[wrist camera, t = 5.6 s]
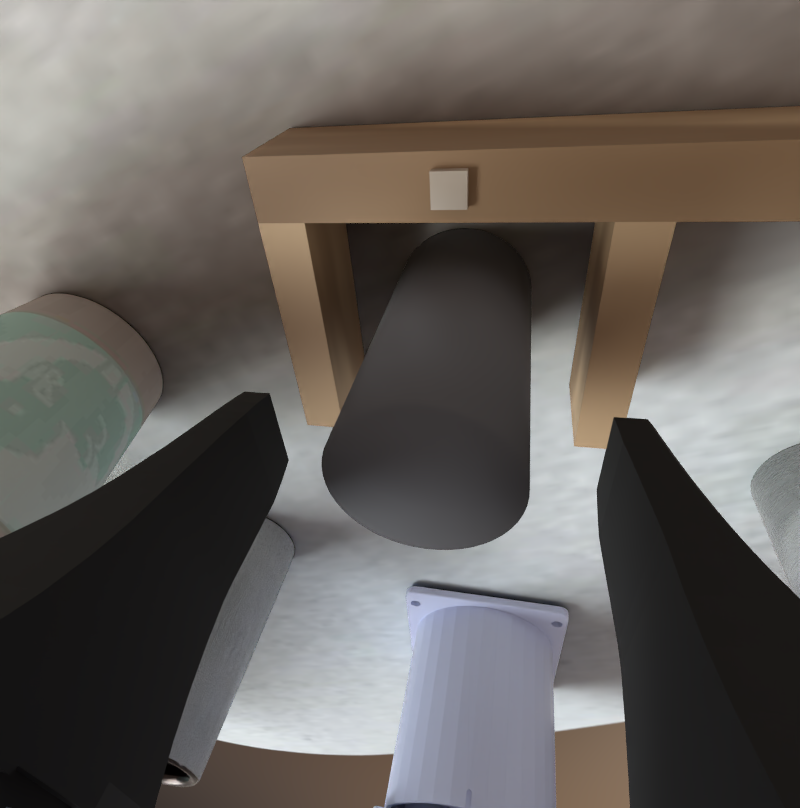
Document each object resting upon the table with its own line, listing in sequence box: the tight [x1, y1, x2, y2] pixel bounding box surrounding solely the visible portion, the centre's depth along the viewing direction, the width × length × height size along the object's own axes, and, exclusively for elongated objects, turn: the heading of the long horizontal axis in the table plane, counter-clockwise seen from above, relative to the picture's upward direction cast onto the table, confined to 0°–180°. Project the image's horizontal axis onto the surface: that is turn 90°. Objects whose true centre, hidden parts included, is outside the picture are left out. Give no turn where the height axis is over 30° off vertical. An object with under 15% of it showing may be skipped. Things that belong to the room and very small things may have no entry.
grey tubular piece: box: [161, 518, 294, 787], centre depth 23 cm, size 4×4×10 cm
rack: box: [242, 106, 800, 449], centre depth 13 cm, size 8×18×3 cm, turn 94°
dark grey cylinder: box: [322, 229, 531, 550], centre depth 13 cm, size 4×4×8 cm
